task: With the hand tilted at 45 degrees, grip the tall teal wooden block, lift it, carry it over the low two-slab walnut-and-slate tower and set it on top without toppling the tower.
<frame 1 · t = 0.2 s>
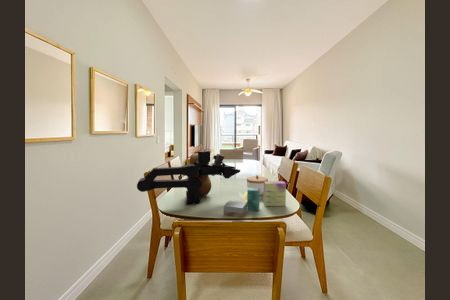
hand: (237, 169, 129), 17 cm above the table, tool horizontal, fingers open, 9 cm apart
lidded bowl: (257, 193, 141), on the table
box: (274, 204, 121), on the table
tower bottom slab: (235, 214, 109), on the table, touching tower top slab
butternut squash: (199, 196, 137), on the table
tower top slab: (235, 209, 109), point 2 cm above the table, touching tower bottom slab
teal block: (253, 209, 114), on the table
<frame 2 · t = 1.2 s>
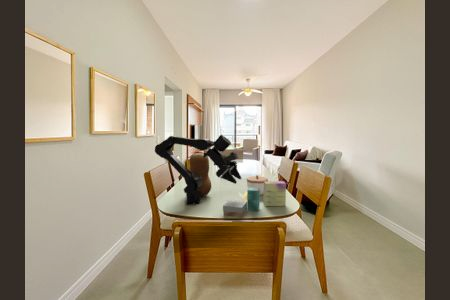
hand: (238, 180, 115), 14 cm above the table, tool tilted 45°, fingers open, 9 cm apart
nothing on the table moved.
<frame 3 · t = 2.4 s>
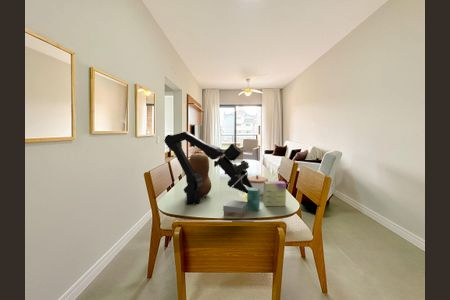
hand: (250, 190, 114), 9 cm above the table, tool tilted 45°, fingers open, 9 cm apart
nothing on the table moved.
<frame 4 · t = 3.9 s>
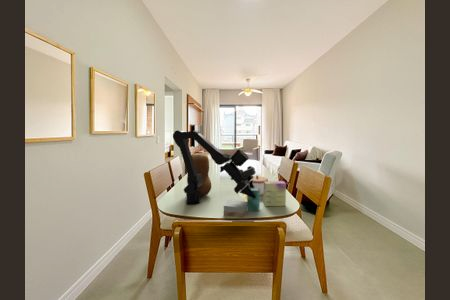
hand: (256, 196, 113), 7 cm above the table, tool tilted 45°, fingers closed on teal block, 5 cm apart
teal block: (253, 209, 114), on the table, touching gripper
everything else where it was.
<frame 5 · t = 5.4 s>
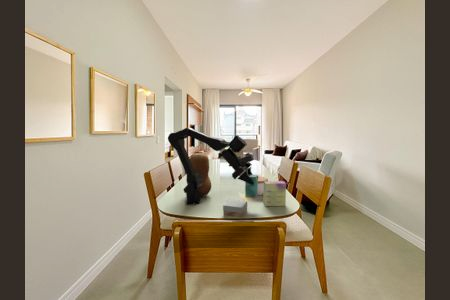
hand: (254, 182, 112), 13 cm above the table, tool tilted 45°, fingers closed on teal block, 5 cm apart
teal block: (251, 196, 113), point 7 cm above the table, touching gripper
everything else where it was.
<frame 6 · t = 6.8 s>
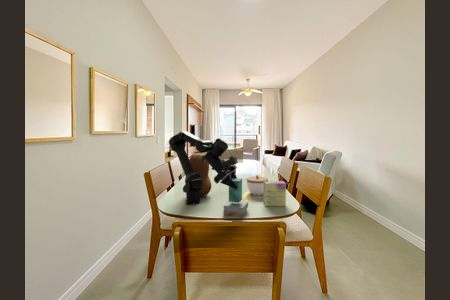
hand: (238, 187, 108), 12 cm above the table, tool tilted 45°, fingers closed on teal block, 5 cm apart
teal block: (235, 200, 109), point 6 cm above the table, touching gripper
everything else where it was.
when the fingers open (12 cm above the table, at t = 6.9 s): teal block drops 2 cm, resting on tower top slab.
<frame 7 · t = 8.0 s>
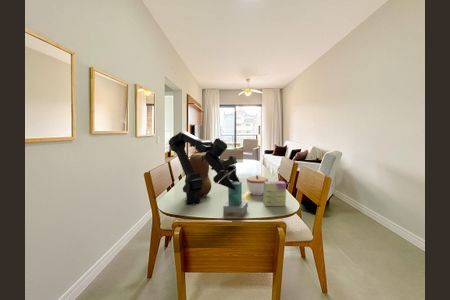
hand: (237, 186, 108), 13 cm above the table, tool tilted 45°, fingers open, 9 cm apart
tower top slab: (235, 209, 109), point 2 cm above the table, touching teal block, tower bottom slab
teal block: (235, 203, 109), point 4 cm above the table, touching tower top slab
everything else where it was.
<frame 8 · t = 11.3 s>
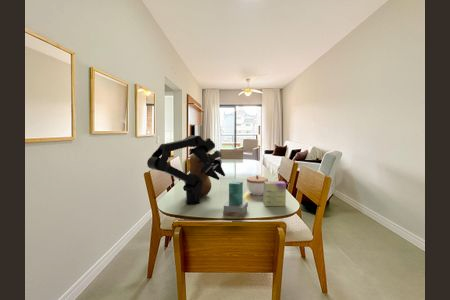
hand: (222, 177, 123), 14 cm above the table, tool tilted 45°, fingers open, 9 cm apart
tower bottom slab: (235, 214, 109), on the table
tower top slab: (236, 208, 109), point 2 cm above the table, touching teal block
everything else where it was.
at the end: teal block 0.3 cm off-centre on the tower top slab, point 2.6 cm above the tower top slab's base; tower top slab 0.4 cm off-centre on the tower bottom slab, point 2.5 cm above the tower bottom slab's base; teal block tilted 2° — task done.
